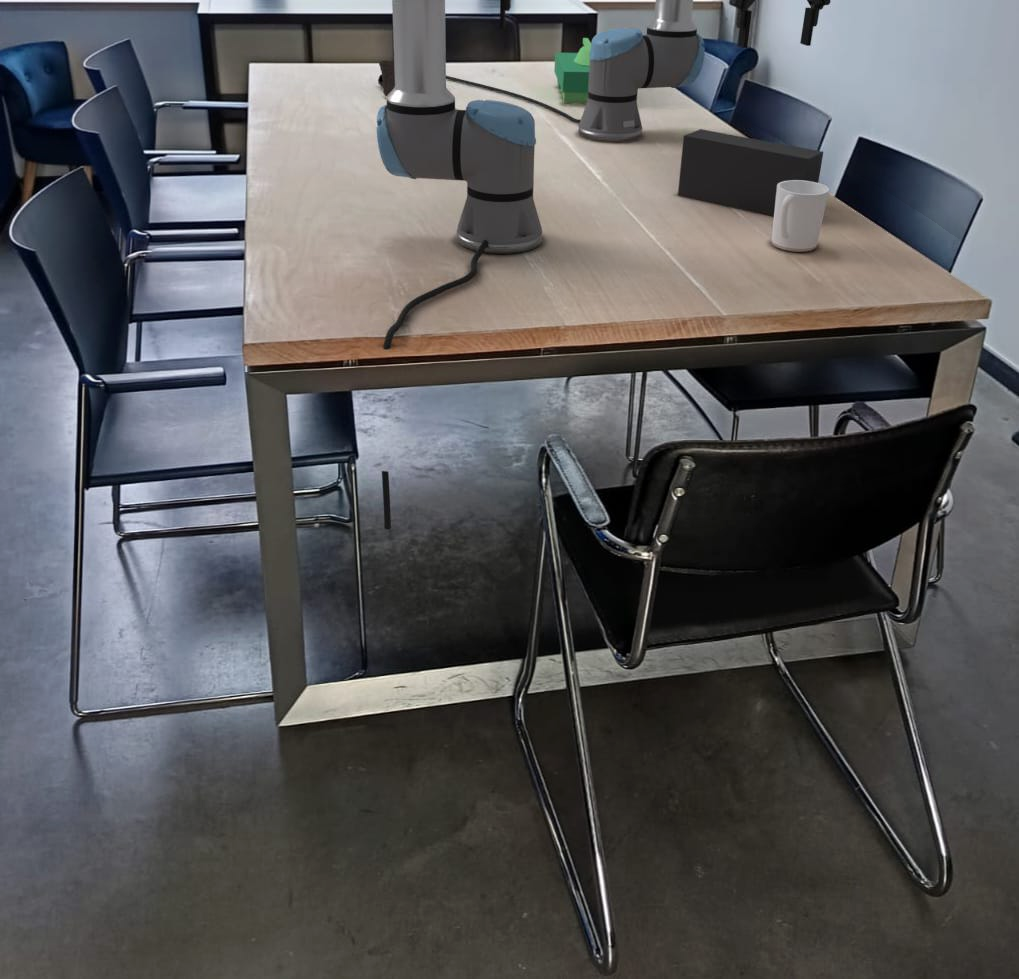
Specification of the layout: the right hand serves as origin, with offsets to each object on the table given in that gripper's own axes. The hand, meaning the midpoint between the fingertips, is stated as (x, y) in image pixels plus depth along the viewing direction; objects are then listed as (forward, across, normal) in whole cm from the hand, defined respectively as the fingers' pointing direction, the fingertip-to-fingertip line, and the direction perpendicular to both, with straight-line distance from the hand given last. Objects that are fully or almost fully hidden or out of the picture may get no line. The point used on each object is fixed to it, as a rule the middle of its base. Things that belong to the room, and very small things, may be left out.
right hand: (774, 45), depth 212 cm
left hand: (0, -53, +30) cm, 61 cm away
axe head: (+28, -53, +106) cm, 121 cm away
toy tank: (+28, -3, +94) cm, 99 cm away
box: (+28, -7, -10) cm, 30 cm away
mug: (+28, -10, -35) cm, 46 cm away
